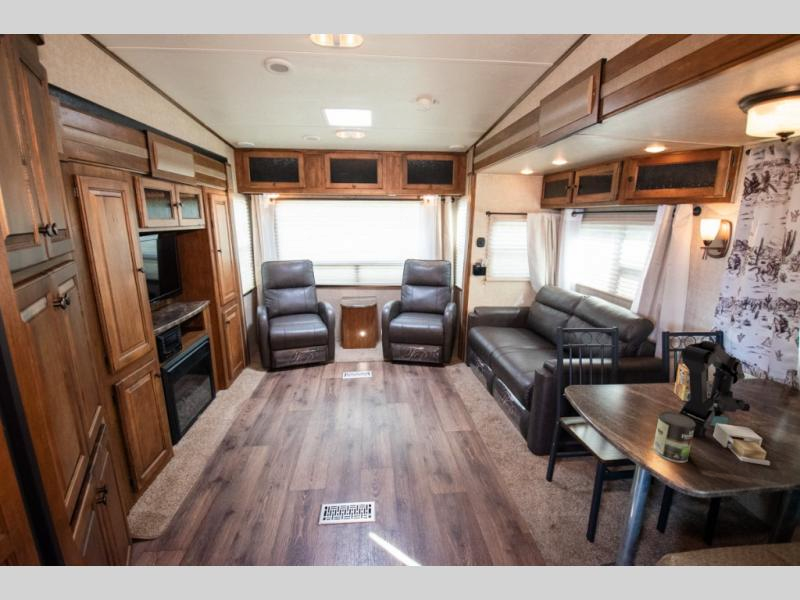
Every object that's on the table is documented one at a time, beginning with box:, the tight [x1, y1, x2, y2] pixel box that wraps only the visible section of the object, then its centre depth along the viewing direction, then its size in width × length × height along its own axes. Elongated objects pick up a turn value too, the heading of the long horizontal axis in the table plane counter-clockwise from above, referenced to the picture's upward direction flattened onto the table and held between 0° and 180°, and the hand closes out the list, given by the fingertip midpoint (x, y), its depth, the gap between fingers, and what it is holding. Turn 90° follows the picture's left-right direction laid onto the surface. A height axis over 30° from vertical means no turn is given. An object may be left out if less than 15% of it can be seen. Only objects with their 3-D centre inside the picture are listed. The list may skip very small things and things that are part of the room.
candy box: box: [673, 363, 690, 402], centre depth 163 cm, size 9×4×15 cm, turn 165°
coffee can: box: [652, 410, 696, 464], centre depth 122 cm, size 10×10×14 cm
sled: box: [709, 415, 771, 466], centre depth 128 cm, size 8×24×5 cm, turn 163°
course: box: [712, 423, 763, 448], centre depth 127 cm, size 10×24×7 cm, turn 163°
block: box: [732, 438, 767, 460], centre depth 121 cm, size 6×6×4 cm
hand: (713, 420), depth 140 cm, fingers closed
